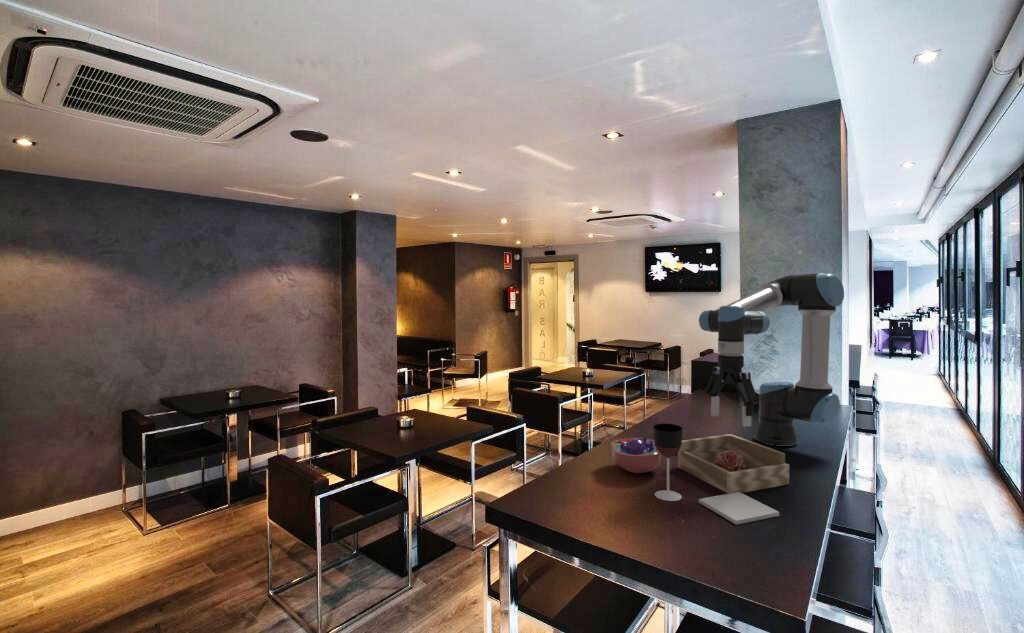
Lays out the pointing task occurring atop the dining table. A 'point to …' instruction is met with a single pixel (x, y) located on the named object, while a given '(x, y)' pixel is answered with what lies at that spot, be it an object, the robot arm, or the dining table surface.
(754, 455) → the frame
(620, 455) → the cell model
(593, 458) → the dining table surface
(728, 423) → the dining table surface
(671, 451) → the wineglass
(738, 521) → the tile
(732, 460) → the flower
